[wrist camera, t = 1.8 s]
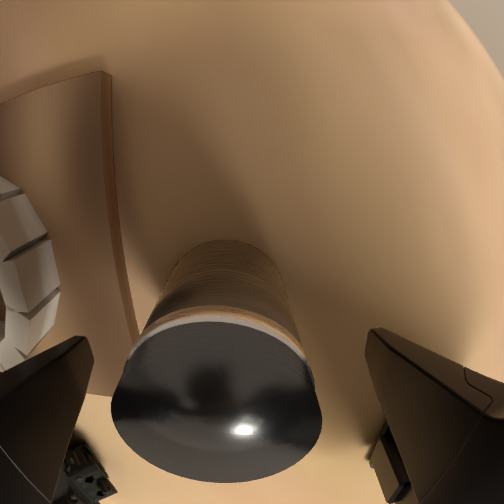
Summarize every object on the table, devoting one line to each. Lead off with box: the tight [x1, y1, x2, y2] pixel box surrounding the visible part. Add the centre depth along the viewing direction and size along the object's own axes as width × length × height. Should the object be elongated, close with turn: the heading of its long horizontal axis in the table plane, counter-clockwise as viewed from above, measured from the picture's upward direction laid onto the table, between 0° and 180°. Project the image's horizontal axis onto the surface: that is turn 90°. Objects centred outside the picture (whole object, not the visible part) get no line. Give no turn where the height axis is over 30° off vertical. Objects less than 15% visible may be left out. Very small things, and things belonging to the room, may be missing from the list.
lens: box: [111, 240, 322, 483], centre depth 9 cm, size 5×5×7 cm
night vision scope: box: [0, 372, 117, 504], centre depth 12 cm, size 8×18×10 cm
